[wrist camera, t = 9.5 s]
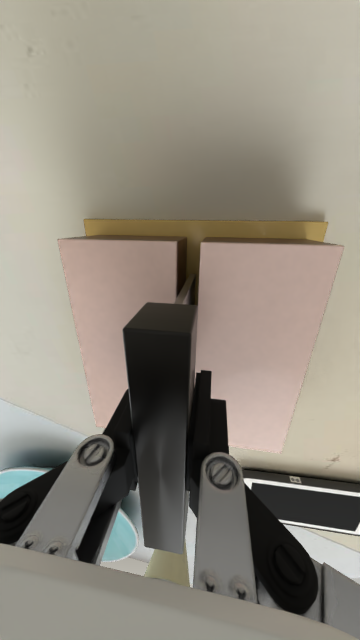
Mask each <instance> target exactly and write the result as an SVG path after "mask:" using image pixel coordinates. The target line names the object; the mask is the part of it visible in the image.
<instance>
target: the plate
mask: <svg viewBox="0 0 360 640" xmlns="http://www.w3.org/2000/svg"><path fill="white" fill-rule="evenodd" d="M52 469H54V468H40V467H12V468H7V469H4V470H1V471H0V499H2V498H4V497H6V496H7V495H8V494H9V493H11V492H12V491H14V490H15V489H17V488H19V487H21V486H22V485H24V484H26V483H28V482H30V481H32V480H33V479H35V478H37V477H39V476H41V475H43V474H45V473H46V472H48V471H50V470H52ZM138 543H139V536H138V532H137V529H136V527H135V525H134V523H133V522H132V520H131V519H130V518H129V516H128V515H127V514H126V513H125V512H124V511H123V510H122V508H121V507H120V508H119V511H118V514H117V517H116V520H115V523H114V526H113V529H112V531H111V534H110V537H109V540H108V543H107V546H106V549H105V552H104V555H103V558H102V561H101V562H112V561H118V560H122V559H124V558H126V557H128V556H130V555H131V554H132V553H133V552H134V551H135V550H136V548H137V546H138Z"/></svg>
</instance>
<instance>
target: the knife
mask: <svg viewBox="0 0 360 640" xmlns="http://www.w3.org/2000/svg"><path fill="white" fill-rule="evenodd" d="M195 284H196V274H190V275H189V277H188V279H187V280H186V282H185V284H184V286H183V288H182V290H181V291H180V293H179V295H178V297H177V299H176V301H175V302H174V304H170V303H154V302H147V303H145V305H144V306H143V307H142V308H141V309H140V310H139V311H138V312H137V313H136V314H135V316H134V317H133V318H132V319H131V320H130V321H129V322H128V323H127V324H126V325H125V326H124V328H123V330H122V332H123V341H124V351H125V361H126V371H127V380H128V390H129V400H130V410H131V419H132V429H133V439H134V449H135V459H136V468H137V478H138V488H139V498H140V507H141V517H142V527H143V537H144V546H145V547H149V548H153V549H158V550H163V551H167V552H172V553H176V554H181V555H182V554H183V552H184V542H185V532H186V522H187V513H188V503H189V491H186V484H187V458H188V439H189V430H190V423H191V415H192V407H193V400H194V383H195V362H196V342H197V322H198V306H197V305H195Z"/></svg>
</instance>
